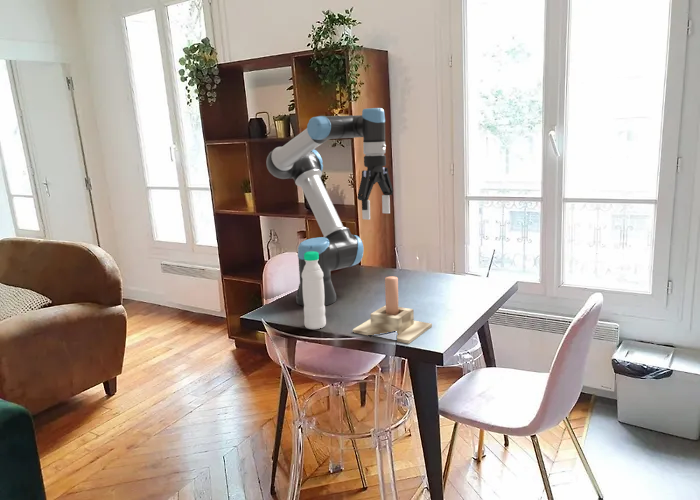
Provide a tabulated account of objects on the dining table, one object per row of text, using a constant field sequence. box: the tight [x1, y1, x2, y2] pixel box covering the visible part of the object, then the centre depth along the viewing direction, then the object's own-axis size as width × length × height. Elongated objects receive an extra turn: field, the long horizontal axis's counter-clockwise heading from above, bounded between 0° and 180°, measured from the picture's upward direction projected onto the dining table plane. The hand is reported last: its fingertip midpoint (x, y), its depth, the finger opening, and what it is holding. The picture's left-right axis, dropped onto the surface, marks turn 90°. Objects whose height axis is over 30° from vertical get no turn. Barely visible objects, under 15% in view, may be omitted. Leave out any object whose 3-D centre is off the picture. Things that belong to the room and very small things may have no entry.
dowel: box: [384, 275, 399, 316], centre depth 172 cm, size 4×4×16 cm
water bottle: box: [302, 251, 327, 330], centre depth 177 cm, size 7×7×25 cm
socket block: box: [352, 304, 433, 344], centre depth 174 cm, size 20×16×6 cm
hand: (376, 216), depth 191 cm, fingers open, 13 cm apart
